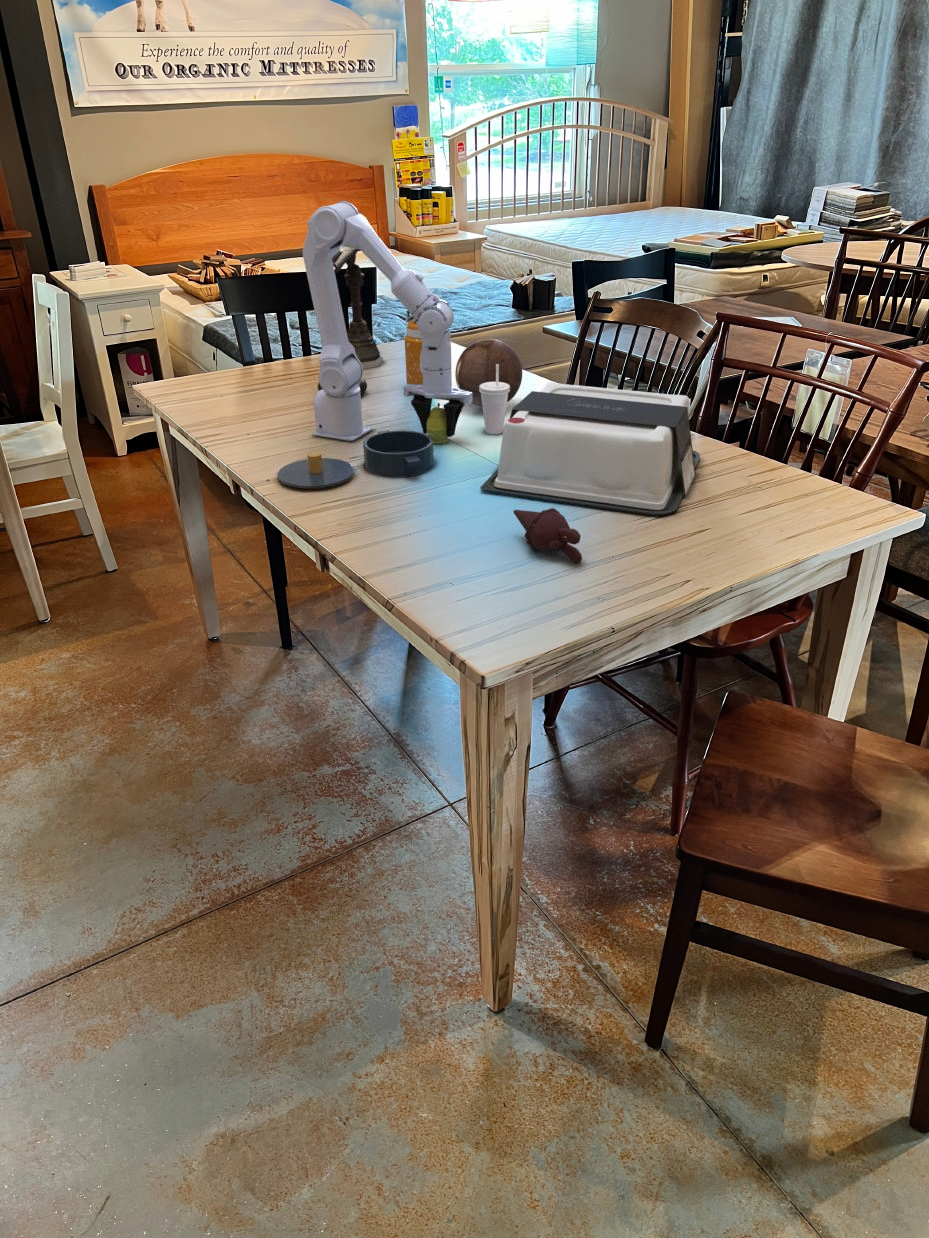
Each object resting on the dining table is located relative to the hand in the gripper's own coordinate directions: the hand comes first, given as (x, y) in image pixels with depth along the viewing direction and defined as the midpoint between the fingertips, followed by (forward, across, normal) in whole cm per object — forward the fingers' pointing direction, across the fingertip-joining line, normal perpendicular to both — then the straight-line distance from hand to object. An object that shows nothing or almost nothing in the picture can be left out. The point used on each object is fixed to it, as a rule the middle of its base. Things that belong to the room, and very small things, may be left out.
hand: (438, 433), depth 178 cm
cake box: (+2, +35, -4) cm, 35 cm away
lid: (+1, -12, -27) cm, 30 cm away
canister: (+2, -20, +31) cm, 37 cm away
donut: (+2, -36, +20) cm, 41 cm away
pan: (+2, -1, -15) cm, 15 cm away
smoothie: (+2, +8, +10) cm, 13 cm away
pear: (+2, 0, 0) cm, 2 cm away
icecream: (+2, +38, -38) cm, 54 cm away
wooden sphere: (+2, 0, +25) cm, 25 cm away
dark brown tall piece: (+2, -48, +44) cm, 65 cm away
